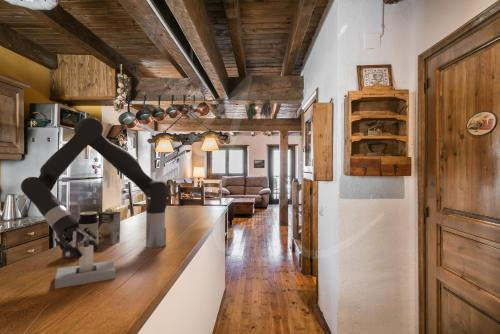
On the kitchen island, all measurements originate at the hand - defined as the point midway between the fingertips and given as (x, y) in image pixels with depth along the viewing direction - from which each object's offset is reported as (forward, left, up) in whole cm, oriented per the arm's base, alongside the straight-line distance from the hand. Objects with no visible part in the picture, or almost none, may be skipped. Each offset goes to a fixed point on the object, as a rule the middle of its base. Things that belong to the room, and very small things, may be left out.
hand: (89, 253), depth 103 cm
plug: (+1, -1, -8) cm, 9 cm away
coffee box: (-10, -51, -9) cm, 52 cm away
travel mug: (0, -40, -9) cm, 41 cm away
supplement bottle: (+7, -32, -9) cm, 34 cm away
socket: (+1, -1, -9) cm, 9 cm away
